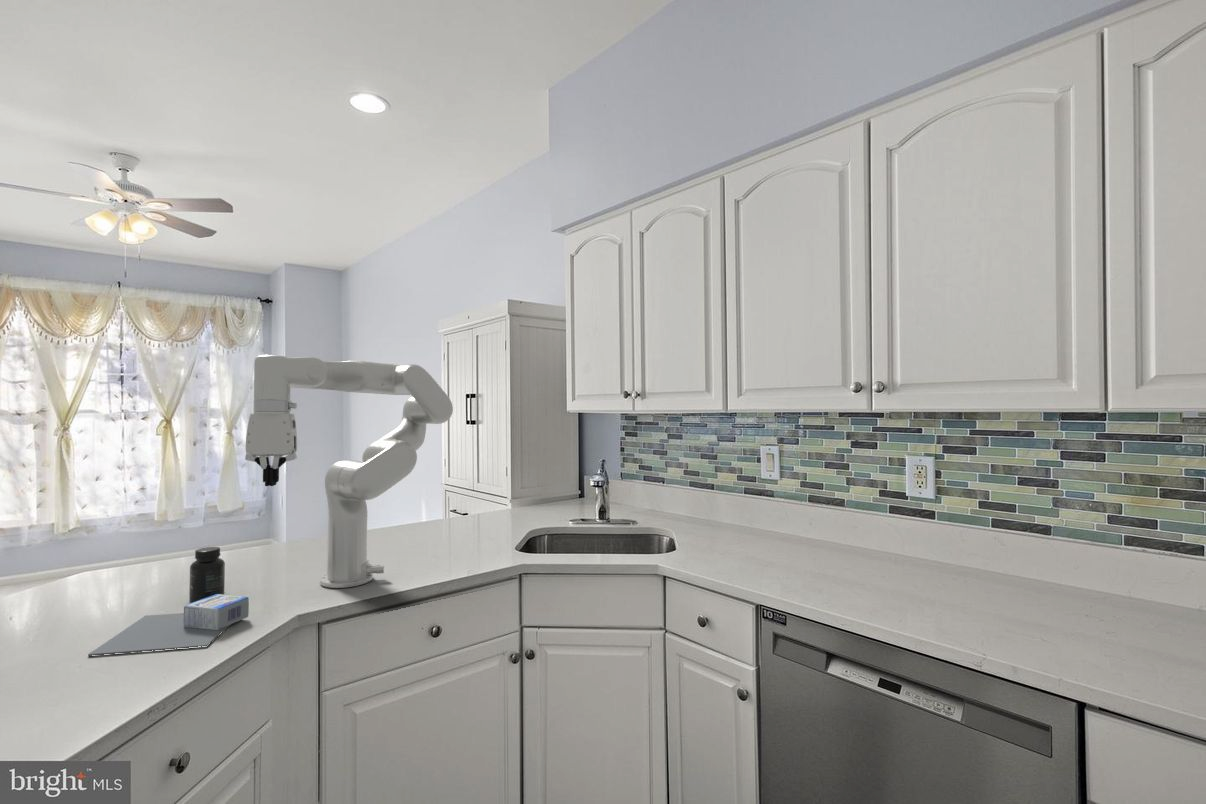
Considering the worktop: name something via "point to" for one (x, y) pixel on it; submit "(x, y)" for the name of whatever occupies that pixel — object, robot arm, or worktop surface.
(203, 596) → the supplement bottle
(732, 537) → the worktop surface
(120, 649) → the mat
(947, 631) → the worktop surface
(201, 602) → the medicine box
